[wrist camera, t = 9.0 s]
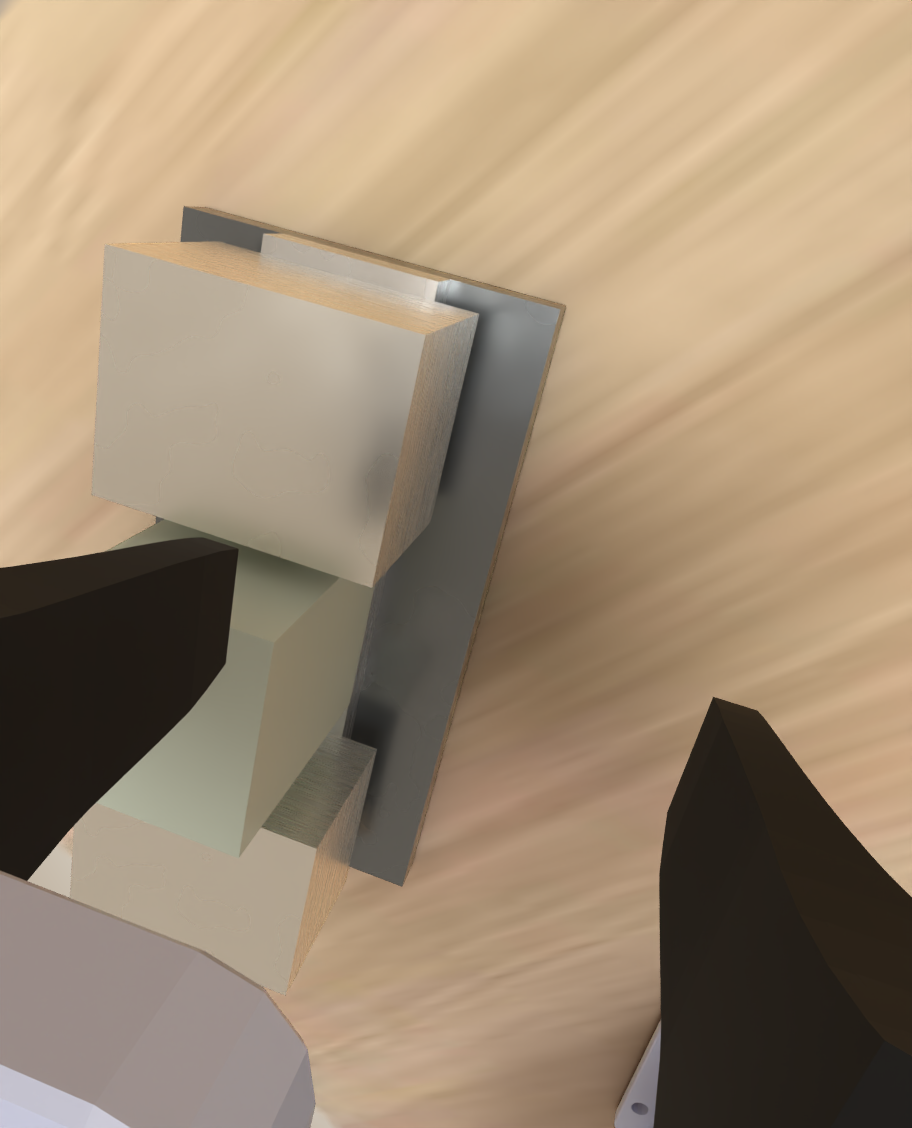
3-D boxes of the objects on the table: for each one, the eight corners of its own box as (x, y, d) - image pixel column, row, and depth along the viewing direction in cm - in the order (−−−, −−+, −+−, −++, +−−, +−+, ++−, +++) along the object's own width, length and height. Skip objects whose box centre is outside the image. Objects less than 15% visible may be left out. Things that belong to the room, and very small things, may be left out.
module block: (349, 704, 22) (238, 858, 17) (210, 654, 23) (59, 788, 17) (386, 531, 20) (274, 642, 15) (232, 481, 21) (69, 571, 15)
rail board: (412, 864, 26) (339, 1029, 21) (150, 764, 27) (18, 897, 22) (566, 305, 19) (517, 335, 14) (206, 207, 20) (30, 198, 15)
